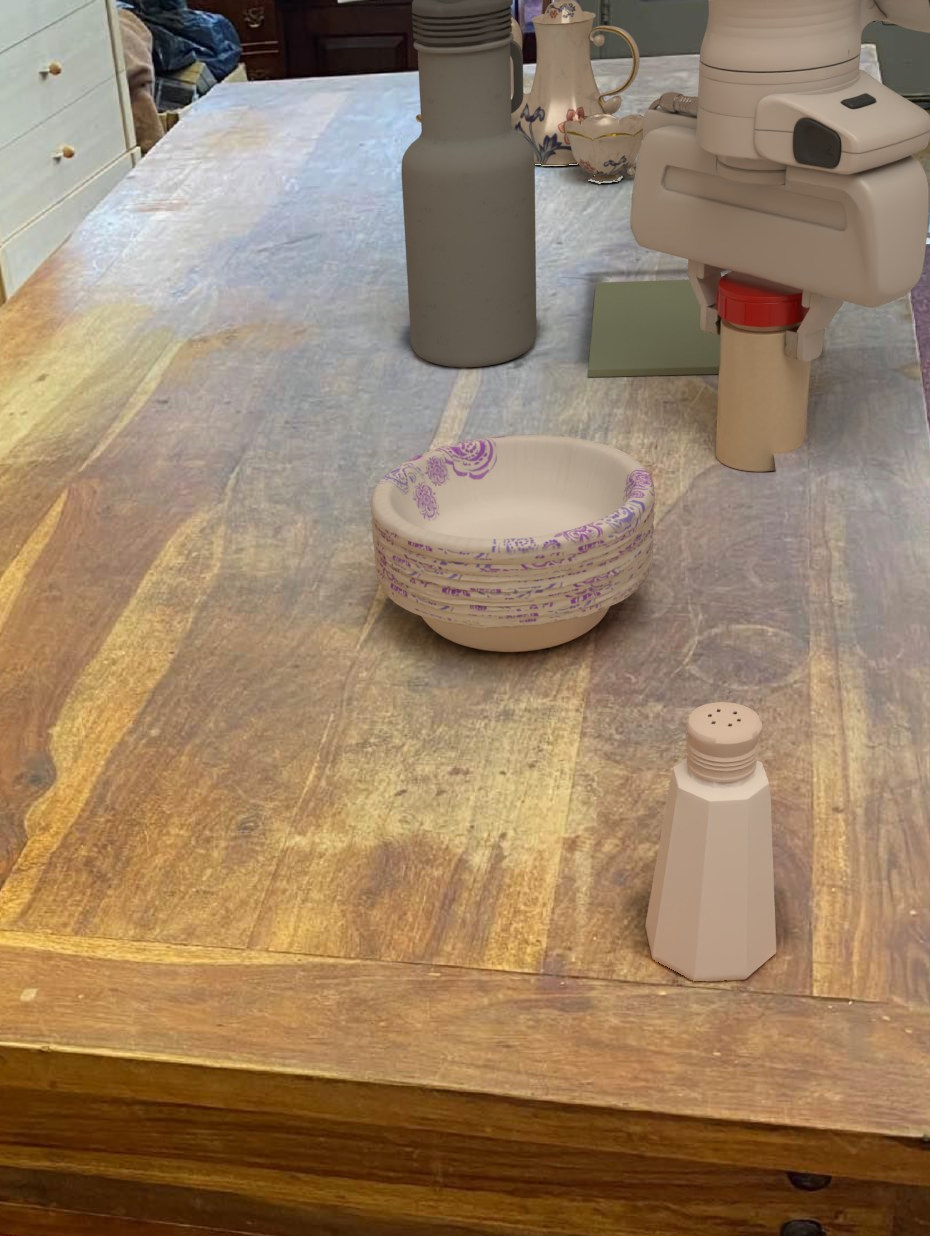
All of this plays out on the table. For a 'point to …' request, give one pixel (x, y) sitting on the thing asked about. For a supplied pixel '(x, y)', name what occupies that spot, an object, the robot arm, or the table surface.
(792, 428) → the jar
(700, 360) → the mat
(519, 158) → the water bottle
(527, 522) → the paper bowls
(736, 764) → the pepper shaker
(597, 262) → the table surface
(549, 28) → the chinaware
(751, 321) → the lid
